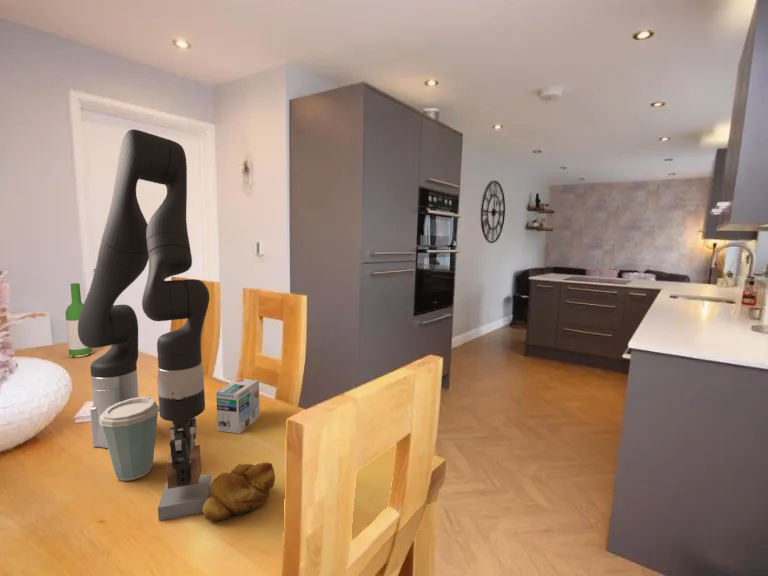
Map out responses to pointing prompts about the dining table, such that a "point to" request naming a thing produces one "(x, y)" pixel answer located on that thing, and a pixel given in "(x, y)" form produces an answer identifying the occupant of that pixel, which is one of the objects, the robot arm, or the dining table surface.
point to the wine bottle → (75, 323)
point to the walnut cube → (194, 466)
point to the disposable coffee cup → (131, 436)
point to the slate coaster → (184, 499)
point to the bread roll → (239, 491)
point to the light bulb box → (238, 405)
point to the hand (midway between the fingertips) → (186, 474)
